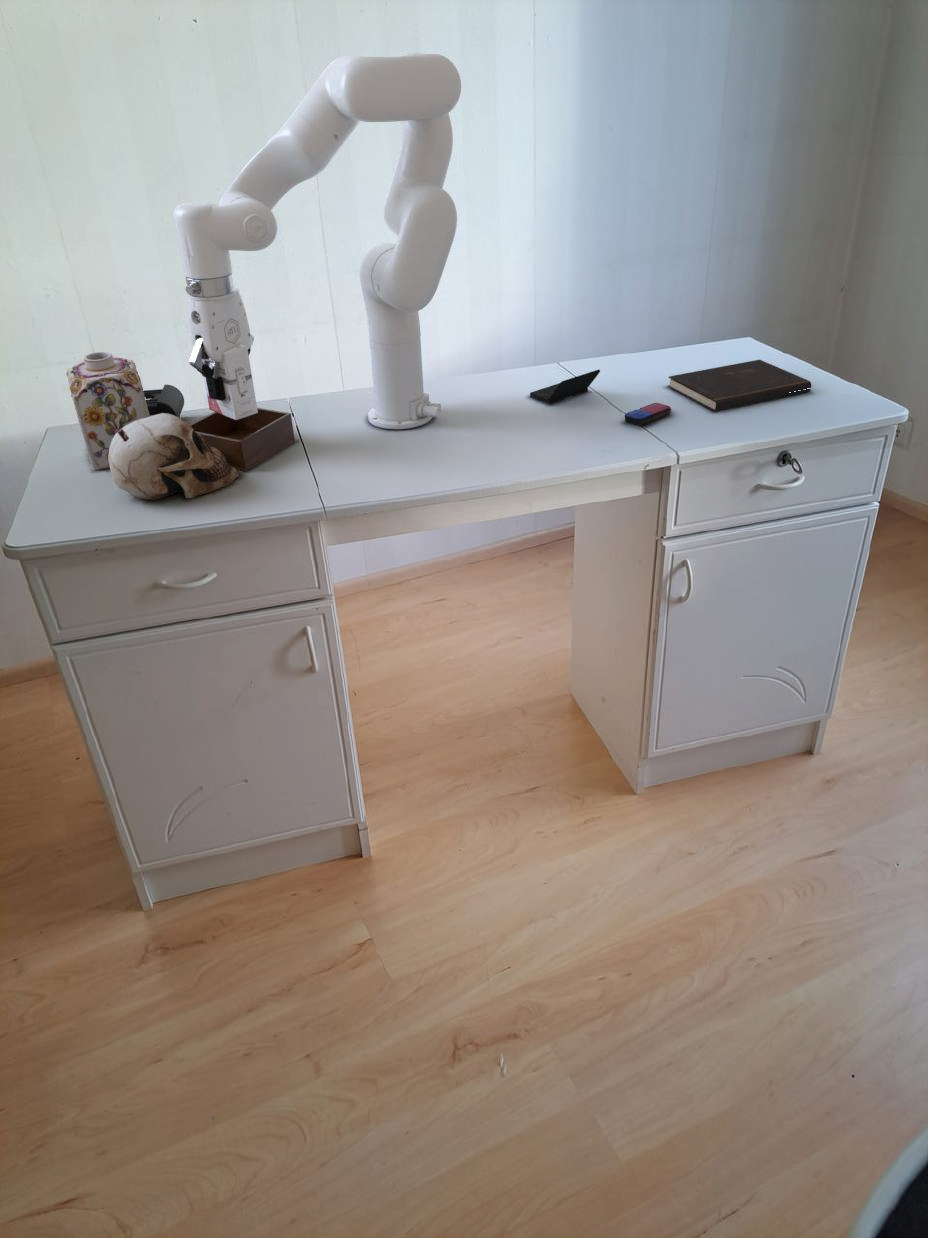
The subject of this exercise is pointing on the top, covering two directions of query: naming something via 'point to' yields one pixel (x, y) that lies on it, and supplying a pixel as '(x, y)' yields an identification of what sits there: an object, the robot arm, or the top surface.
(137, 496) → the coin bank
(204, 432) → the desk box
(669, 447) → the top surface
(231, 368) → the ink box
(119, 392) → the decorative jar
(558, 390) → the handheld gaming console
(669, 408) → the eraser
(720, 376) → the hardcover book
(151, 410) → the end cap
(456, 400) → the top surface
